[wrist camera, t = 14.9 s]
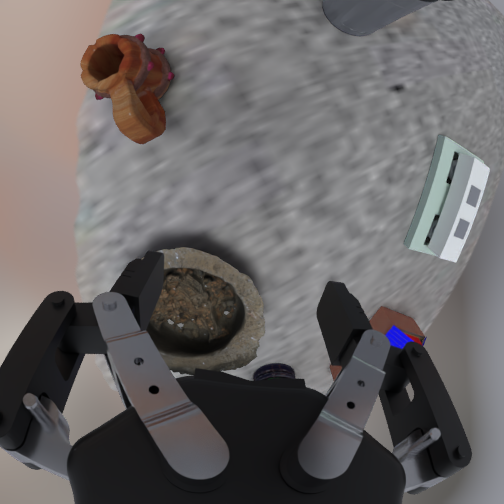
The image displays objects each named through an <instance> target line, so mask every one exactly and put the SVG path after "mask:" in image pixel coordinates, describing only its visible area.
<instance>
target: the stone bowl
mask: <svg viewBox="0 0 504 504" xmlns="http://www.w3.org/2000/svg"><path fill="white" fill-rule="evenodd" d="M156 252H162V253H164V279H163V288H162V292H161V295H160V297H159V299H158V302H157V304H156V307H155V309H154V311H153V314H152V316H151V319H150V321H149V324H148V326H147V329H146V331H147V332H148V334H149V335H150V337H151V339H152V341H153V343H154V344H155V346H156V348H157V350H158V351H159V353H160V355H161V356H162V358H163V360H164V361H165V363H166V365H167V366H168V368H169V369H170V370H172V371H173V372H180V374H185V373H186V374H189V375H194V374H195V368H199V369H205V370H212V371H219V372H221V371H222V370H223V371H226V370H232V369H233V370H236V368H241V367H243V366H246V365H247V364H249V363H250V362H251V361H252V360H253V359H255V358H256V357H257V355H256V351H257V348H258V347H259V339H260V338H261V337H262V336H264V333H265V321H264V317H263V307H264V304H263V301H262V298H261V296H259V294H258V291H257V289H256V287H255V286H254V285H253V281H251V279H250V277H249V276H247V275H245V274H243V273H239V271H238V270H237V269H235V268H234V267H232V266H231V265H230V264H228V263H226V262H224V261H222V260H221V259H220V258H219V257H217V256H213V255H210V254H209V253H206V252H203V251H200V250H197V249H193V248H186V247H181V248H175V249H171V250H168V249H163V250H161V251H156ZM143 258H144V257H143ZM143 258H142V259H143ZM201 277H202V278H201ZM224 311H228V312H230V313H229V314H227V315H225V314H224ZM168 319H170V320H172V321H173V322H174V324H173V325H171V324H169V323H168V321H167V320H168ZM179 323H182V324H184V326H183V327H178V325H177V324H179Z"/></svg>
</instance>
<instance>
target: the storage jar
mask: <svg viewBox="0 0 504 504" xmlns="http://www.w3.org/2000/svg"><path fill="white" fill-rule="evenodd" d="M274 378H292V379H295V373H294V370H293V369H292V368H291V367H290V366H288V365H286V364H280V363H273V364H268V365H264V366H262V367H260V368H259V369H257V370H256V371H255V373H254V376H253V379H254V381H259V380H266V379H274Z"/></svg>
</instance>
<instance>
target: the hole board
mask: <svg viewBox="0 0 504 504" xmlns="http://www.w3.org/2000/svg"><path fill="white" fill-rule="evenodd" d="M454 153H456V154H457V155H459V154H460V153H462V154H465V155H468V156H471V157H475V158H476V159H478V160H479V161H480V162H482V163H484V161H482V160H481V159H480V158H478V157H477V156H475V155H474V154H472V153H471V152H469V151H468V150H466V149H465V148H463V147H462V146H460V145H459V144H457V143H456V142H454V141H452V140H451V139H449V138H448V137H446V136H442V135H438V139H437V144H436V148H435V152H434V155H433V159H432V163H431V166H430V170H429V173H428V177H427V180H426V183H425V186H424V189H423V193H422V196H421V199H420V202H419V204H418V207H417V210H416V213H415V216H414V218H413V221H412V224H411V226H410V229H409V232H408V234H407V237H406V239H405V242H404V245H405V246H406V247H407V248H408V249H411V250H415V251H419V252H423V253H427V254H431V255H435V256H437V255H436V254H435V253H433V252H432V251H431V250H430V249H429V248H428V245H429V243H428V242H425V239H426V237H427V235H428V232H429V229H430V227H431V224H432V222H433V219H434V216H435V214H437V215H439V216H440V215H441V212H442V209H443V207H444V204H445V201H446V198H447V195H448V192H449V189H450V186H451V185H450V184H448V183H446V181H447V177H448V174H449V170H450V167H451V163H452V159H453V155H454Z"/></svg>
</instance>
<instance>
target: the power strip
mask: <svg viewBox="0 0 504 504" xmlns="http://www.w3.org/2000/svg"><path fill="white" fill-rule="evenodd" d="M489 171H490V168H488V167H487V166H486V165H484V164H483V163H482V162H480V161H479V160H478V159H476V158H475V157H471V156H468V155H465V154H462V153H460V154H459V158H458V160H456V159H452V163H451V167H450V170H449V174H448V177H449V179H451V180H452V182H451V186H450V189H449V192H448V195H447V198H446V201H445V204H444V207H443V209H442V212H441V215H440V218H439V219H433V222H432V224H431V227H430V229H429V232H428V235H427V236H428V237H429V238H430V239H431V240H430V243H429V245H428V248H429V249H430V250H431V251H432V252H433V253H435V254H436V255H437V256H438V257H439V258H442V259H445V260H449V261H453V262H456V261H457V259H458V257H459V255H460V253H461V251H462V248H463V246H464V244H465V241H466V239H467V237H468V234H469V232H470V229H471V227H472V224H473V221H474V219H475V216H476V213H477V210H478V207H479V204H480V201H481V198H482V195H483V192H484V189H485V185H486V182H487V179H488V175H489Z"/></svg>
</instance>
